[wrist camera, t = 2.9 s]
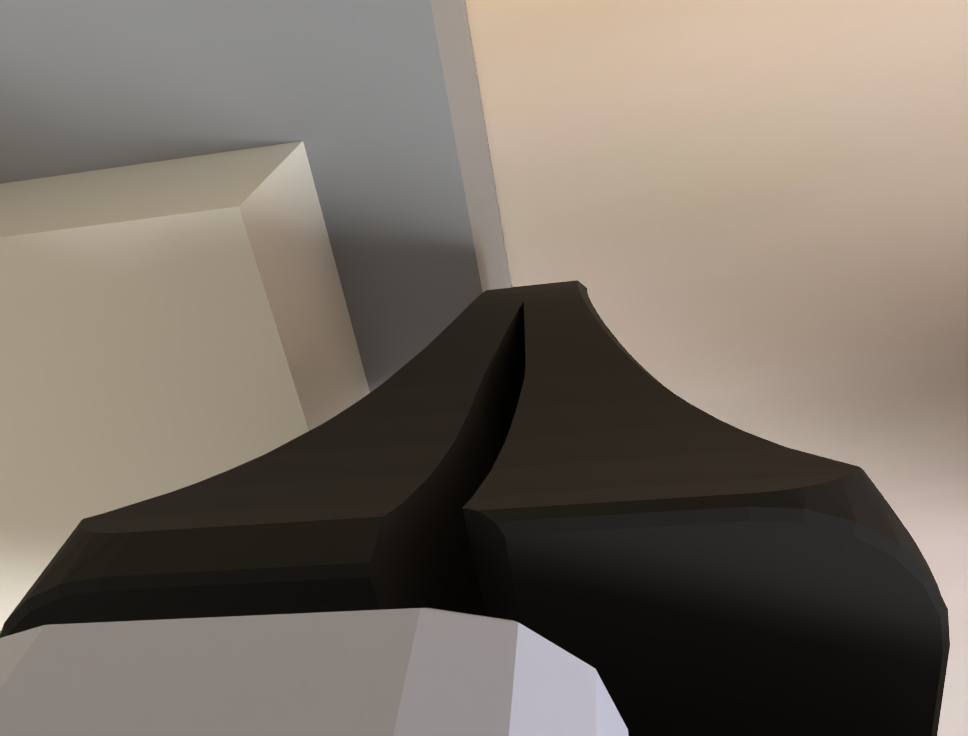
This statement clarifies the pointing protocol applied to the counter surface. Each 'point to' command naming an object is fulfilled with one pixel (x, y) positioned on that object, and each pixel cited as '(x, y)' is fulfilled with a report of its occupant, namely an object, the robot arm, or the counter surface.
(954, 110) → the counter surface
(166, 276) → the tile
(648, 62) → the counter surface
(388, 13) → the bench plate
